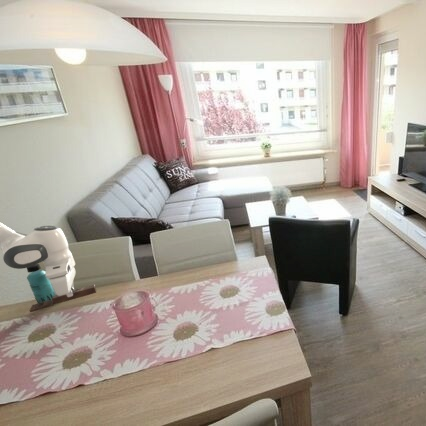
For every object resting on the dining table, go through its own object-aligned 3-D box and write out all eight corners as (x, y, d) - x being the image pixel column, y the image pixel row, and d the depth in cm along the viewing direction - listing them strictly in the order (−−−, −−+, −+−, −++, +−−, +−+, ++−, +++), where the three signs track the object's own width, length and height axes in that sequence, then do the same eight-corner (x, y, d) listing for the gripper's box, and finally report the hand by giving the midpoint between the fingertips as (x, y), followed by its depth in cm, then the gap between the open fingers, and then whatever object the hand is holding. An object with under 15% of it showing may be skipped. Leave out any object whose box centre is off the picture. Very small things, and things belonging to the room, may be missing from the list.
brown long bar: (30, 312, 114) (27, 306, 113) (32, 307, 117) (30, 301, 116) (96, 293, 124) (94, 288, 123) (96, 289, 127) (94, 283, 126)
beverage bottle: (43, 303, 131) (26, 264, 124) (61, 299, 133) (45, 260, 127) (36, 311, 125) (18, 271, 119) (55, 307, 128) (38, 267, 121)
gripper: (54, 256, 123) (65, 285, 128) (44, 277, 107) (56, 309, 111) (73, 252, 126) (83, 280, 131) (66, 272, 110) (77, 303, 114)
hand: (71, 293), depth 121 cm, fingers closed on brown long bar, 2 cm apart
